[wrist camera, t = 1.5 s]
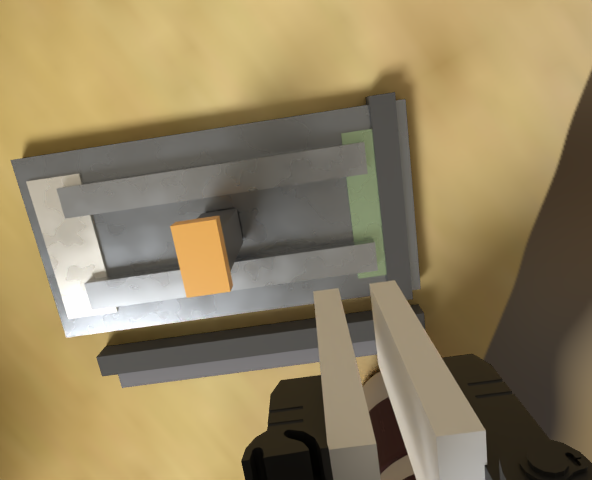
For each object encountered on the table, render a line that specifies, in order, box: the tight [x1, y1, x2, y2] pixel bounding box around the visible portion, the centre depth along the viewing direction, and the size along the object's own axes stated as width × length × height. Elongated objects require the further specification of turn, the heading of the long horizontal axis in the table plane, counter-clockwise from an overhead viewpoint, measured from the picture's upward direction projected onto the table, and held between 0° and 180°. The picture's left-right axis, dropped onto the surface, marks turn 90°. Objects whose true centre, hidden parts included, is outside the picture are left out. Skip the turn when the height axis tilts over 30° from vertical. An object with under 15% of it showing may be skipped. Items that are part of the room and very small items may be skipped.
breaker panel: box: [11, 99, 421, 337], centre depth 30 cm, size 26×13×2 cm, turn 98°
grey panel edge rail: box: [366, 92, 413, 300], centre depth 30 cm, size 2×14×2 cm, turn 9°
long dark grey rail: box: [97, 304, 425, 388], centre depth 33 cm, size 24×3×2 cm, turn 98°
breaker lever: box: [170, 208, 243, 298], centre depth 27 cm, size 2×4×7 cm, turn 8°
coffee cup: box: [363, 371, 416, 480], centre depth 28 cm, size 10×10×15 cm
